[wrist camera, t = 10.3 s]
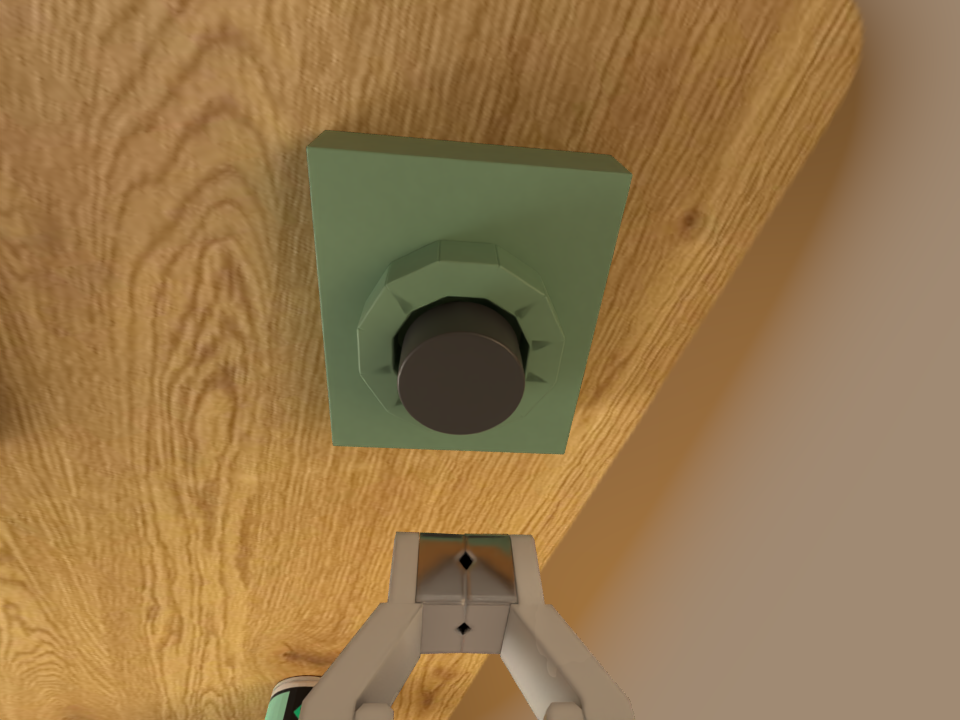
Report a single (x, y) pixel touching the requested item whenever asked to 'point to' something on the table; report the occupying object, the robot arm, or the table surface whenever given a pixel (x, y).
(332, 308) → the button base
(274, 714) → the spray can
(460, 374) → the button
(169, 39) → the table surface
